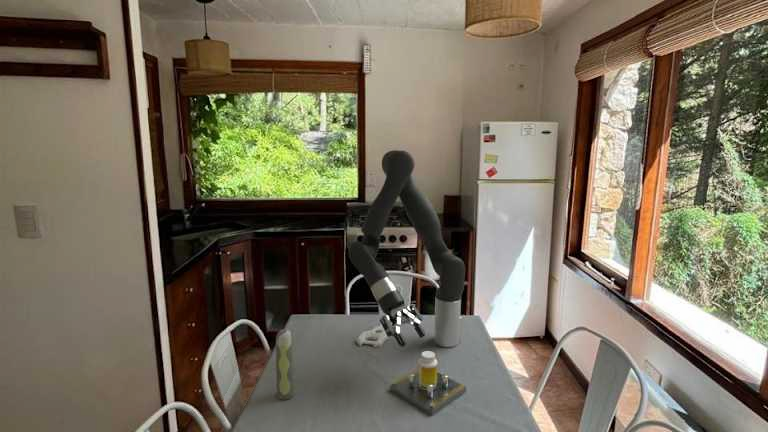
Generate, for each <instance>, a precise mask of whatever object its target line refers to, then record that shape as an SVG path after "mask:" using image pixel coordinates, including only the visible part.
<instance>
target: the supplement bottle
mask: <svg viewBox="0 0 768 432" xmlns="http://www.w3.org/2000/svg"><path fill="white" fill-rule="evenodd" d="M417 367H418V368H417V369H418V386H419V387H420V388H421V389H423V390H426V391H427V384H429V383H430V384H433V390H434V389H435V388H436V386H437V372H438V360H437V359H436V354H435V352H434V351H431V350H430V351H429V350H426V351H422V352H421V357H420V358H419V359H418V366H417Z"/></svg>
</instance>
